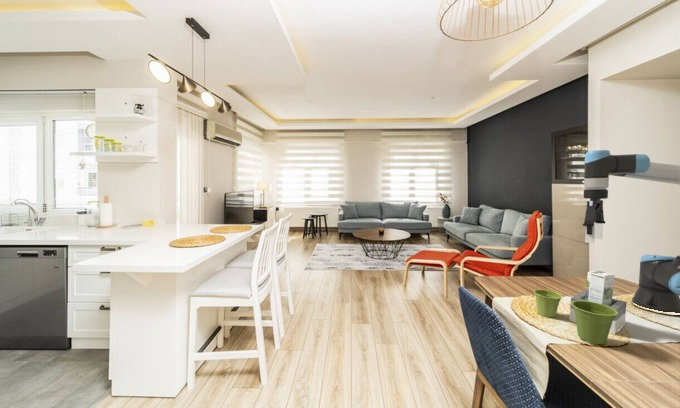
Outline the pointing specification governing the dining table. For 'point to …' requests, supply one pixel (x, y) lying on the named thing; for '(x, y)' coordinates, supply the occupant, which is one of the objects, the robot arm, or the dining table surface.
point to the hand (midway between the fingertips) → (593, 240)
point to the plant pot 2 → (593, 321)
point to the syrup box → (600, 287)
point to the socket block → (616, 304)
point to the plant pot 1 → (547, 302)
